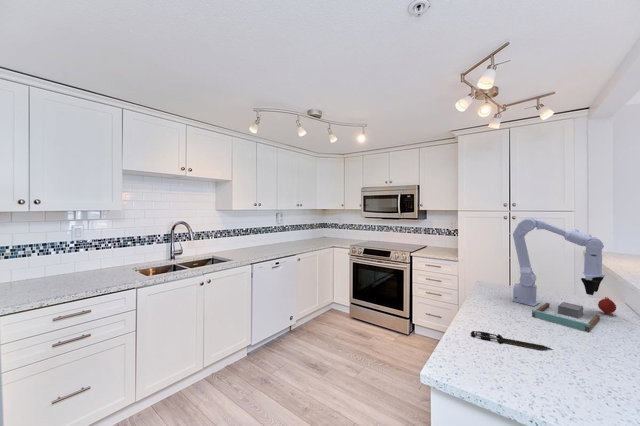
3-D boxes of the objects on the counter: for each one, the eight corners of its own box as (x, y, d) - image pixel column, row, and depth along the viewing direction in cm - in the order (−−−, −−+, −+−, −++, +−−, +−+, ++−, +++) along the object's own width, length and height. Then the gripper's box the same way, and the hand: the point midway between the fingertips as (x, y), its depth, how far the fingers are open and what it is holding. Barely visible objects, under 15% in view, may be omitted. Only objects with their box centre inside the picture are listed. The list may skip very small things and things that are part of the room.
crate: (558, 313, 128) (558, 305, 127) (563, 310, 132) (563, 301, 132) (578, 319, 122) (578, 310, 122) (582, 314, 126) (583, 306, 126)
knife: (552, 349, 97) (552, 345, 97) (555, 358, 92) (555, 354, 92) (471, 331, 111) (471, 328, 111) (470, 338, 106) (470, 334, 106)
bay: (531, 316, 124) (532, 310, 124) (546, 306, 136) (546, 300, 136) (588, 332, 109) (589, 324, 109) (599, 319, 120) (600, 312, 120)
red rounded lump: (607, 311, 129) (608, 295, 129) (619, 316, 123) (620, 299, 123) (594, 311, 130) (594, 294, 129) (605, 316, 124) (606, 299, 123)
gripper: (601, 267, 117) (600, 298, 118) (608, 263, 126) (607, 292, 126) (579, 264, 123) (578, 294, 124) (587, 260, 132) (586, 288, 132)
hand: (591, 293), depth 125 cm, fingers open, 7 cm apart
